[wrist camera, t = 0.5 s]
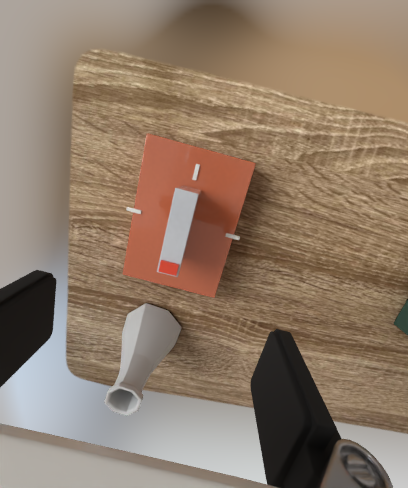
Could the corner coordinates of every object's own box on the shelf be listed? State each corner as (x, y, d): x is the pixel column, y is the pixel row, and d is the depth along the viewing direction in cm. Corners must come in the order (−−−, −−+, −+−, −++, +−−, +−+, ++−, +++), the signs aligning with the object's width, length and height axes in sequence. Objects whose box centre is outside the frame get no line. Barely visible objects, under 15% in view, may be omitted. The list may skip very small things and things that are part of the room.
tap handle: (182, 185, 21) (174, 187, 17) (201, 190, 22) (198, 194, 17) (167, 254, 23) (155, 273, 19) (184, 258, 24) (177, 278, 19)
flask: (159, 361, 31) (134, 443, 22) (113, 331, 30) (66, 404, 20) (191, 325, 29) (181, 398, 20) (144, 292, 28) (108, 352, 19)
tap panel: (149, 136, 23) (139, 130, 20) (256, 166, 24) (263, 164, 21) (126, 262, 27) (116, 273, 24) (219, 286, 28) (219, 300, 25)
